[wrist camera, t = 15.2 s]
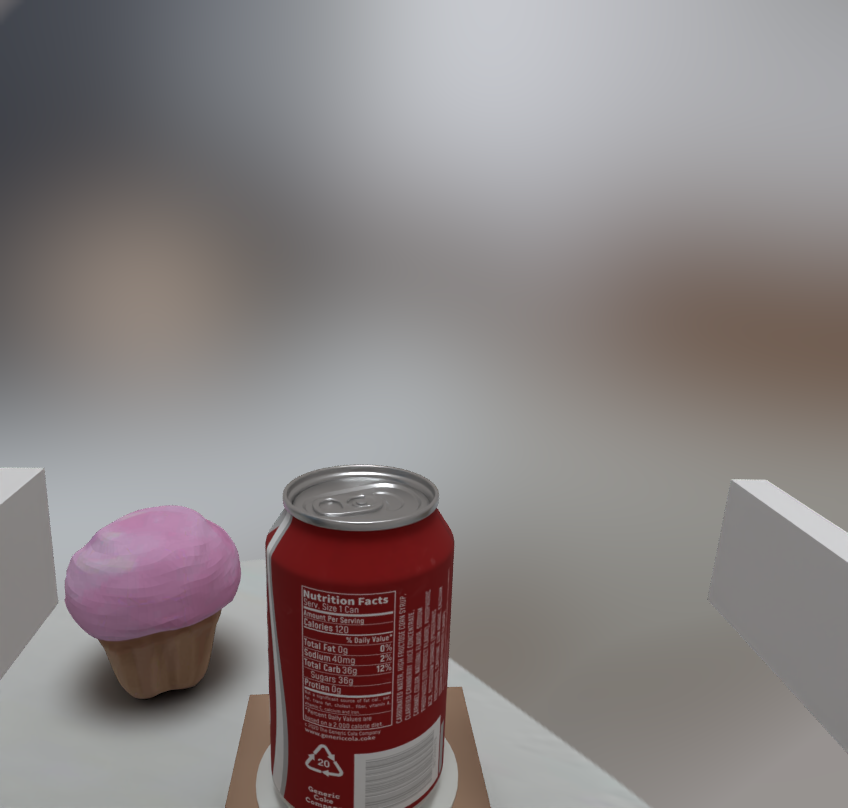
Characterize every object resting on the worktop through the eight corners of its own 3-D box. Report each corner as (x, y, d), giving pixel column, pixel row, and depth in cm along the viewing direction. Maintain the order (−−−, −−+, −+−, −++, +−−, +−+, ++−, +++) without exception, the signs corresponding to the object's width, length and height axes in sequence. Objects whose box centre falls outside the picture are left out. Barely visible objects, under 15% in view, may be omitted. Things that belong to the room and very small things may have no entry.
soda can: (470, 814, 25) (489, 516, 22) (289, 871, 22) (282, 544, 19) (408, 698, 31) (416, 452, 28) (259, 733, 28) (251, 468, 25)
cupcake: (224, 620, 44) (217, 477, 41) (261, 700, 37) (256, 532, 34) (72, 657, 40) (55, 500, 37) (79, 755, 32) (59, 569, 30)
